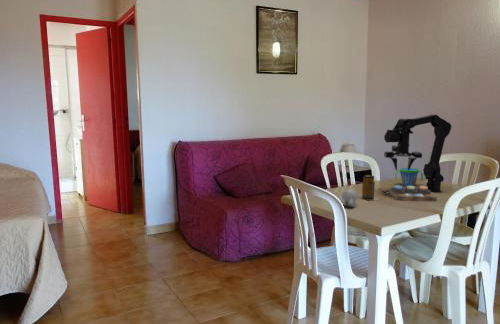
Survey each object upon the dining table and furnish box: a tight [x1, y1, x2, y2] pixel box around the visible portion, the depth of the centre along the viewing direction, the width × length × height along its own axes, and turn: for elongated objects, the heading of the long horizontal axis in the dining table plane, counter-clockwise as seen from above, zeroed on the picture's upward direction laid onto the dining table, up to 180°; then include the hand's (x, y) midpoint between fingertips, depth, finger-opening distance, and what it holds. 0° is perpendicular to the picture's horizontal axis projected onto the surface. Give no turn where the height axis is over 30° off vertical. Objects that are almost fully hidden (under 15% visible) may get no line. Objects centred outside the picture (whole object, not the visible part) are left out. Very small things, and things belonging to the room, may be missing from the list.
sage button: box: [406, 185, 416, 190], centre depth 212 cm, size 4×4×2 cm
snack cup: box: [395, 167, 424, 187], centre depth 241 cm, size 16×10×10 cm
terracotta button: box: [418, 185, 428, 190], centre depth 211 cm, size 4×4×2 cm
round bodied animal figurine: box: [340, 188, 358, 208], centre depth 192 cm, size 7×12×8 cm, turn 145°
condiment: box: [358, 174, 379, 201], centre depth 207 cm, size 7×8×12 cm
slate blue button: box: [393, 184, 403, 190], centre depth 212 cm, size 4×4×2 cm
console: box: [388, 187, 438, 202], centre depth 209 cm, size 20×14×4 cm
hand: (402, 170), depth 218 cm, fingers open, 6 cm apart
